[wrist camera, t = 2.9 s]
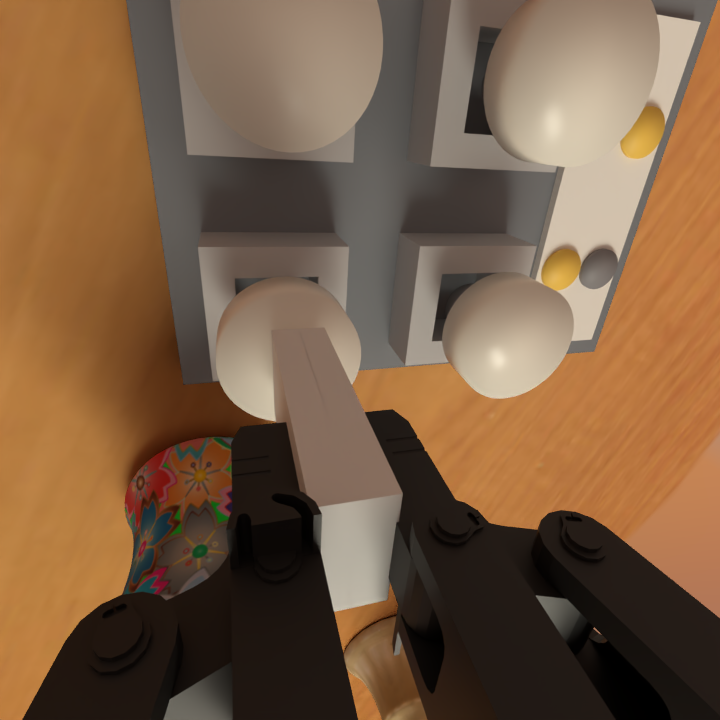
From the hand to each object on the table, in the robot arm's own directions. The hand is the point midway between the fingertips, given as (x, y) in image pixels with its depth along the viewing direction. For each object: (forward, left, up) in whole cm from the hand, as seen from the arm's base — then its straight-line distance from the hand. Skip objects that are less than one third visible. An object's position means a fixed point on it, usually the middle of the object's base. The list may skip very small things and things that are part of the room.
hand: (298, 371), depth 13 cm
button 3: (+8, 0, -5) cm, 9 cm away
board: (+7, +4, -8) cm, 11 cm away
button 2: (0, +8, -4) cm, 9 cm away
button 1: (0, 0, -5) cm, 5 cm away
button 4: (+8, +8, -5) cm, 12 cm away
